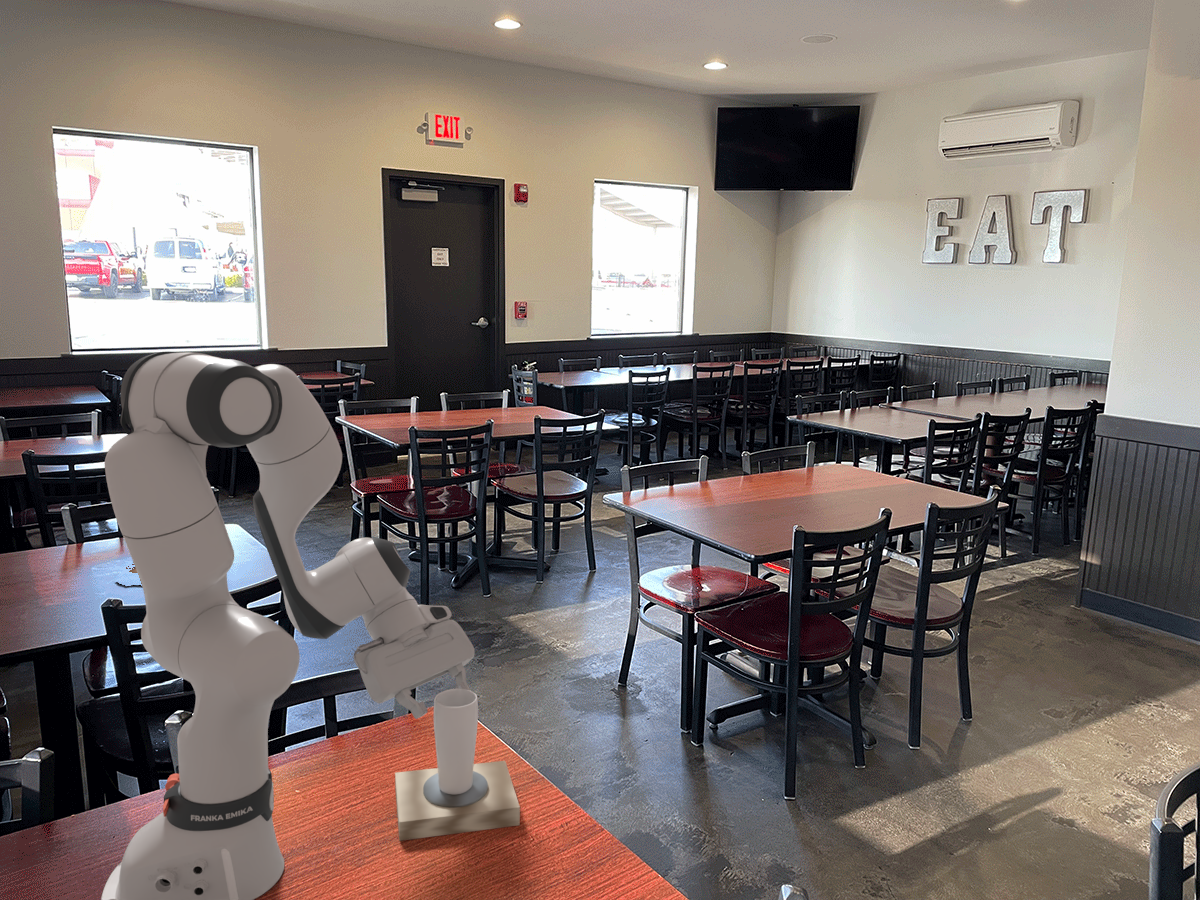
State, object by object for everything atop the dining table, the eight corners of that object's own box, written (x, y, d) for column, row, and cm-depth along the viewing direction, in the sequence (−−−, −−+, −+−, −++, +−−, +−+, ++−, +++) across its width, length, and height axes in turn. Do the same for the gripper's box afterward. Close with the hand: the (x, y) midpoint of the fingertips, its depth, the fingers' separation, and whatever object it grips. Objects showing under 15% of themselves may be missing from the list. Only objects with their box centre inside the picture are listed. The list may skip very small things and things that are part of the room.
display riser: (399, 840, 130) (399, 818, 129) (395, 789, 143) (395, 769, 143) (519, 825, 135) (520, 803, 134) (504, 777, 148) (505, 757, 147)
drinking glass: (469, 801, 134) (469, 710, 132) (427, 796, 135) (426, 704, 133) (483, 778, 141) (483, 690, 138) (442, 773, 142) (442, 685, 139)
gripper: (358, 639, 131) (404, 719, 127) (454, 604, 148) (497, 674, 144) (339, 659, 134) (383, 739, 130) (435, 623, 151) (477, 692, 147)
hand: (444, 704), depth 137 cm, fingers open, 8 cm apart
